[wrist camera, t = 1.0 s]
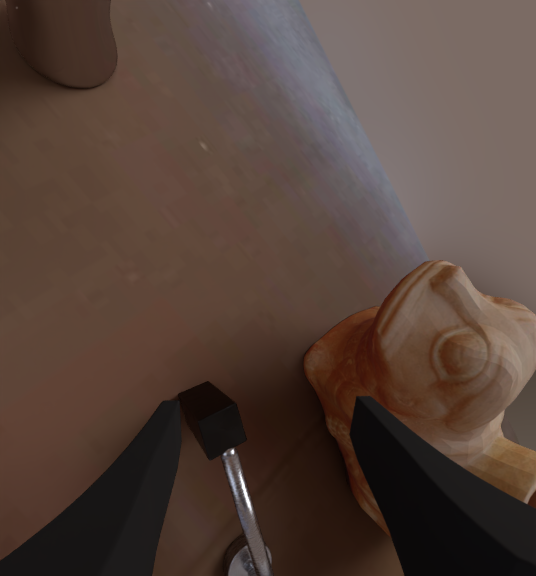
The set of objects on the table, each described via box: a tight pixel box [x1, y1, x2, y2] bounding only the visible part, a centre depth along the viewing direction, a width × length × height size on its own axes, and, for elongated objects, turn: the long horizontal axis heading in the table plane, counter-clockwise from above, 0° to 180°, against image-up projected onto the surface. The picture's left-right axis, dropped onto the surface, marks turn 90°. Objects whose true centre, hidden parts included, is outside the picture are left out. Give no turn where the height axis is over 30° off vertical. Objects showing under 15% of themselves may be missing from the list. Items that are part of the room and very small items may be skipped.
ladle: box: [178, 381, 274, 576], centre depth 20 cm, size 16×4×6 cm, turn 18°
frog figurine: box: [303, 260, 536, 537], centre depth 24 cm, size 14×26×15 cm, turn 26°
